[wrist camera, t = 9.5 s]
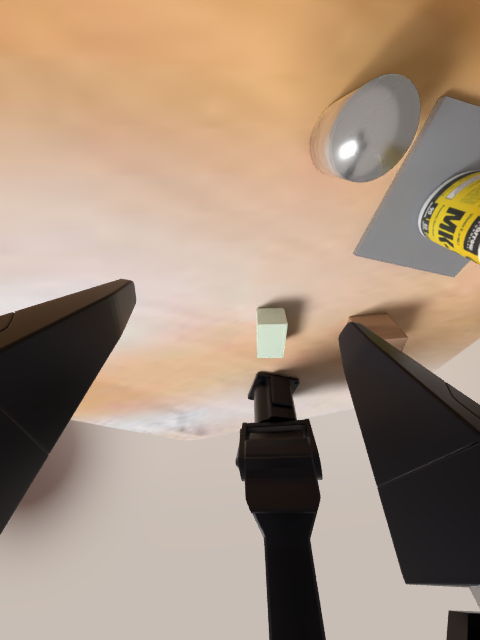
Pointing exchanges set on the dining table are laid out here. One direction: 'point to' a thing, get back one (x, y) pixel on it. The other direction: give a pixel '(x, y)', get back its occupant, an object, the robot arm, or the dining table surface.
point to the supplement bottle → (454, 215)
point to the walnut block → (383, 328)
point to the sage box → (271, 332)
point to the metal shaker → (367, 129)
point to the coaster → (425, 190)
